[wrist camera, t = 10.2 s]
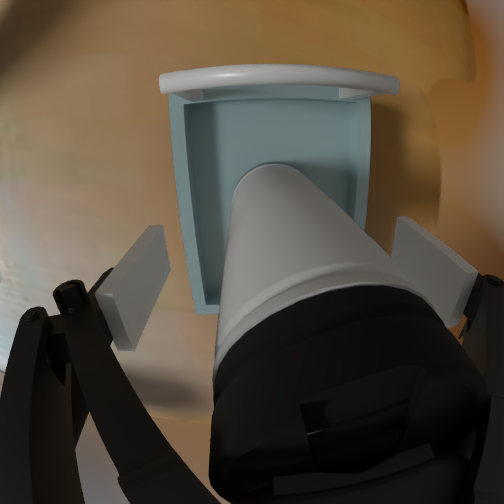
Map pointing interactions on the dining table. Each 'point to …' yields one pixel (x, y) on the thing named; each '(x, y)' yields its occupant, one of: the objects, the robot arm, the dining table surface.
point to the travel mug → (323, 345)
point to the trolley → (263, 145)
